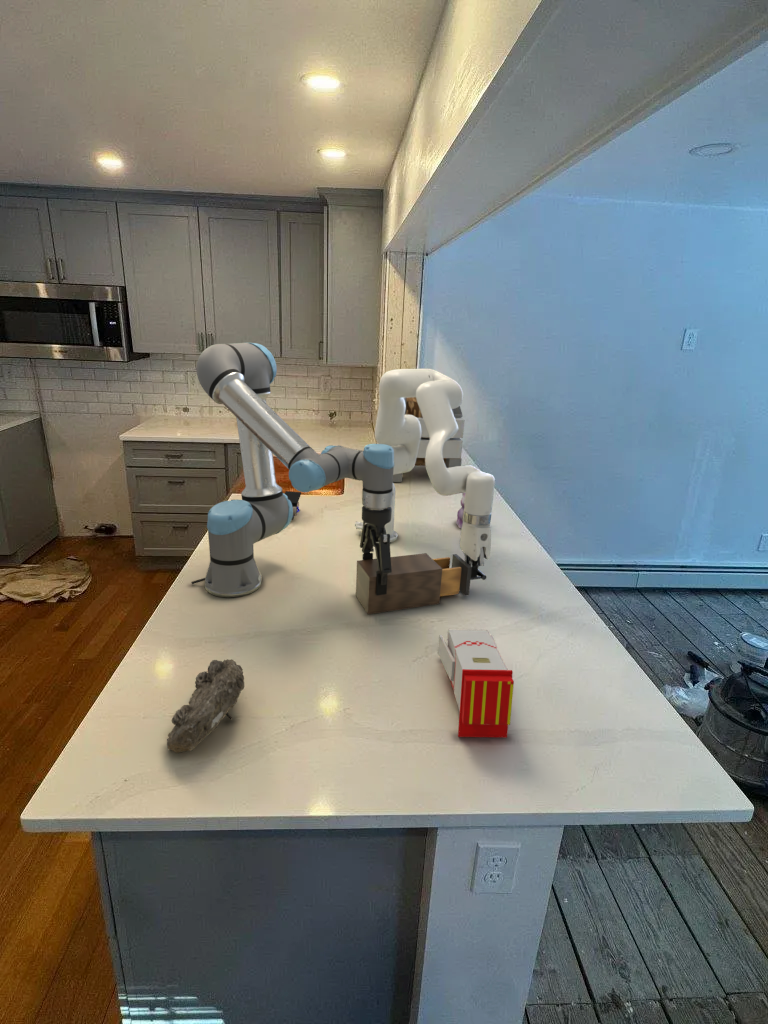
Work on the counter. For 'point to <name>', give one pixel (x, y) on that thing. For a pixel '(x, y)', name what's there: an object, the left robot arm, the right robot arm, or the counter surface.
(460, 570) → the drawer
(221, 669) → the fossil
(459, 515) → the figurine
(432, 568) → the cabinet
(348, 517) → the counter surface
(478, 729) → the toy
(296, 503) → the figurine character
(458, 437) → the transformer
